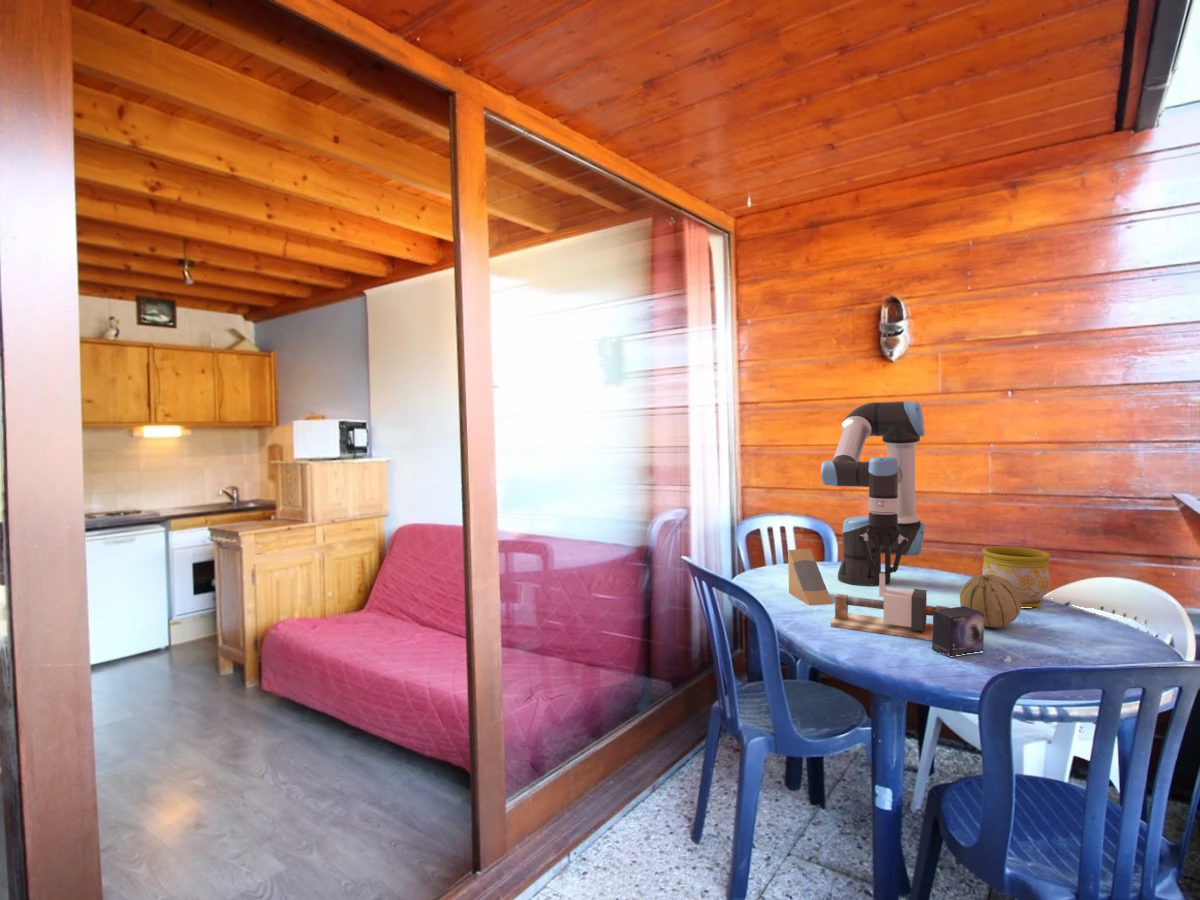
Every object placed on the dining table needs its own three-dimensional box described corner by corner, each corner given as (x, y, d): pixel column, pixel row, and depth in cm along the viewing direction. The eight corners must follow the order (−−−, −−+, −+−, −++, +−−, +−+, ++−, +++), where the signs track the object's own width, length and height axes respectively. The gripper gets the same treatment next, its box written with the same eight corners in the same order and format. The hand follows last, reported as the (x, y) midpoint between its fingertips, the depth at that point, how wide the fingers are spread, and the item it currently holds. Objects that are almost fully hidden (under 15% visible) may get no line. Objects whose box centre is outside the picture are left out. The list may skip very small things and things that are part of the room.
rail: (830, 626, 184) (830, 599, 184) (837, 615, 194) (837, 590, 193) (949, 643, 169) (950, 614, 169) (951, 631, 178) (951, 603, 178)
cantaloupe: (1019, 622, 184) (1020, 570, 184) (1022, 638, 172) (1022, 582, 171) (960, 615, 192) (960, 565, 191) (958, 629, 179) (959, 576, 179)
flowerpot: (1038, 615, 191) (1039, 560, 190) (972, 602, 204) (972, 551, 204) (1057, 603, 202) (1058, 551, 201) (994, 592, 216) (994, 543, 215)
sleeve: (883, 623, 178) (883, 594, 178) (887, 615, 185) (887, 587, 185) (911, 627, 175) (911, 598, 174) (914, 618, 182) (914, 590, 181)
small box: (951, 658, 159) (951, 616, 158) (930, 649, 165) (931, 609, 164) (985, 653, 162) (985, 612, 161) (963, 645, 168) (964, 605, 167)
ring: (911, 629, 174) (911, 596, 174) (914, 620, 182) (914, 588, 182) (923, 631, 173) (923, 598, 172) (926, 621, 181) (926, 589, 180)
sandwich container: (808, 606, 205) (808, 559, 204) (787, 593, 220) (787, 549, 219) (834, 604, 206) (834, 558, 205) (811, 591, 221) (811, 548, 220)
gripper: (856, 512, 181) (855, 595, 182) (907, 515, 174) (906, 601, 175) (860, 509, 187) (860, 589, 188) (910, 511, 180) (909, 595, 182)
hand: (882, 595), depth 182 cm, fingers closed
